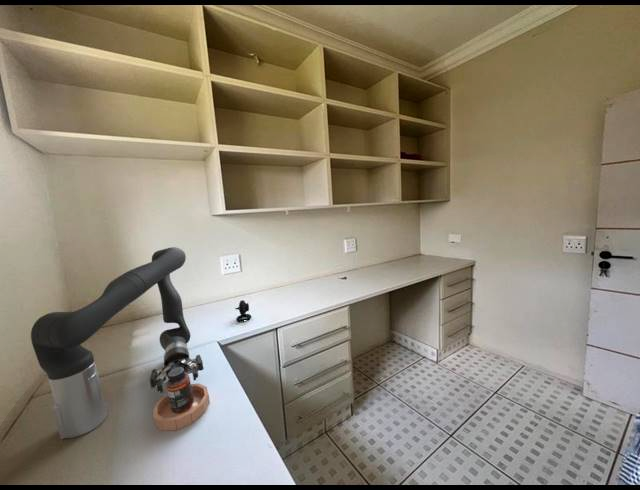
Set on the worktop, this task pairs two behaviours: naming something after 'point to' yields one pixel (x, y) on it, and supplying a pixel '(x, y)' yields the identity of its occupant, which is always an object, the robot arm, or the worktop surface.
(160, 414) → the bowl
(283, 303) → the worktop surface
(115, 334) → the worktop surface
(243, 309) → the webcam
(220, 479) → the worktop surface
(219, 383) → the worktop surface
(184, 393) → the supplement bottle
